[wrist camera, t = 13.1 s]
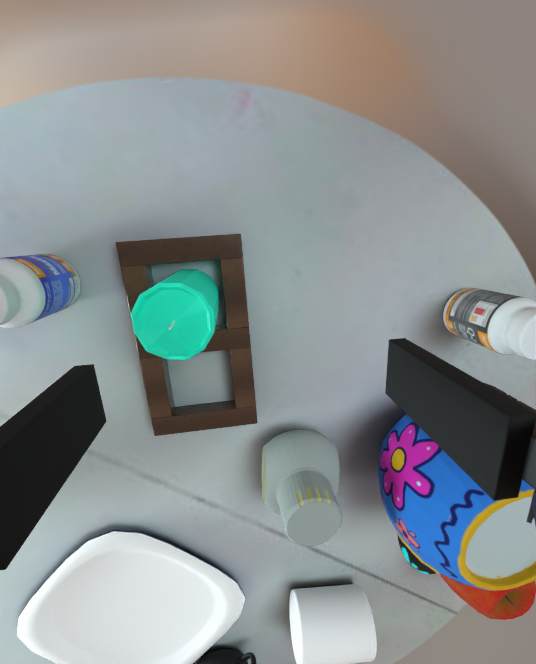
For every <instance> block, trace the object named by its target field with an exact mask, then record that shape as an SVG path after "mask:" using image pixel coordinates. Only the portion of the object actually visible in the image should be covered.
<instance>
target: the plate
mask: <svg viewBox="0 0 536 664" xmlns="http://www.w3.org/2000/svg"><path fill="white" fill-rule="evenodd" d="M244 601H245V595H244V593H243V592H242V590H241V588H240V586H239V585H238V583H237V581H235V580H234V579H232V578H231V577H230V576H228V575H227V574H225V573H224V572H222V571H221V570H220V569H218V568H217V567H215V566H213V565H211V564H209V563H207V562H205V561H204V560H202V559H200V558H198V557H196V556H194V555H192V554H190V553H188V552H186V551H184V550H182V549H180V548H178V547H176V546H175V545H173V544H171V543H168V542H166V541H163V540H161V539H158V538H155V537H153V536H150V535H148V534H145V533H142V532H133V531H120V530H112V531H110V532H107V533H105V534H102V535H100V536H97V537H94V538H92V539H89V540H88V541H87V542H85V543H84V544H83V545H82V546H81V547H79V548H78V549H77V550H76V551H75V552H74V553H72V554H71V555H70V556H69V557H68V558H67V559H66V560H65V561H64V562H63V563H62V564H61V565H60V566H59V567H58V568H57V569H56V571H55V572H54V573H53V574H52V575H51V576H50V577H49V578H48V579H47V580H46V582H45V583H44V584H43V585H42V586H41V587H40V589H39V590H38V591H37V592H36V593H35V594H34V595H33V597H32V598H31V599H30V601H29V602H28V604H27V606H26V607H25V609H24V610H23V612H22V613H21V615H20V616H19V618H18V633H17V637H18V638H19V639H20V640H21V641H22V642H23V643H24V644H25V645H26V646H27V647H28V648H29V649H30V650H31V651H32V652H34V653H36V654H38V655H40V656H42V657H44V658H46V659H48V660H50V661H53V662H55V663H57V664H193V663H194V662H195V661H196V660H197V659H198V658H199V657H200V656H202V655H203V654H204V653H205V652H206V651H207V650H208V649H209V648H210V647H211V646H212V645H213V644H214V643H215V642H216V641H217V640H218V639H219V638H221V637H222V636H223V635H224V634H225V633H226V632H227V630H228V629H229V628H230V627H231V626H232V624H233V623H234V622H235V621H236V620H237V618H238V617H239V616H240V615H241V611H242V608H243V605H244Z"/></svg>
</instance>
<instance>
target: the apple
mask: <svg viewBox="0 0 536 664" xmlns="http://www.w3.org/2000/svg"><path fill="white" fill-rule="evenodd" d="M440 575H441V577H442V578H443V579H444V580H445V582H446V583H447V584H448V585H449V586H450V588H451V589H452V590H453V591H454V592H455V593H456V594H457V595H458V596H459V597H460V598H462V599H463V600H464V601H465V602H467V603H468V604H469V605H470V606H472V607H473V608H474V609H476V610H477V611H478V612H479V613H481V614H483V615H485V616H486V617H489V618H490V619H502V620H505V619H513V618H516V617H519V616H522V615H523V614H524V613H526V612H527V611H528V610H529V609H530V607H531V606H532V604H533V602H534V597H535V593H536V584H535V581H533V582H530V583H527V584H525V585H522V586H520V587H517V588H513V589H508V590H496V591H490V590H484V589H480V588H476V587H473V586H469V585H465V584H462V583H459V582H457V581H455V580H453V579H451V578H449V577H447V576H444V575H442V574H440Z"/></svg>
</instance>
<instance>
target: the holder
mask: <svg viewBox="0 0 536 664" xmlns="http://www.w3.org/2000/svg"><path fill="white" fill-rule="evenodd" d="M116 245H117V250H118V255H119V260H120V265H121V270H122V275H123V280H124V285H125V290H126V295H127V300H128V305H129V310H130V315H131V311H132V309H133V307H134V305H135V303H136V301H137V299H138V297H139V295H140V294H141V293H143V292H145V291H146V290H148V289H149V288H151V287H153V286H154V284H153V278H152V272H151V267H150V264H164V263H177V262H190V261H204V260H217V259H220V264H221V273H222V282H223V292H224V301H225V310H226V319H227V324H226V325H216V326H215V331H214V334H213V335H212V337H211V339H210V341H209V343H208V344H207V346H206V348H205V349H204V350H203V351H201V352H208V351H217V350H227V349H230V356H231V366H232V375H233V384H234V393H235V400H233V401H225V402H216V403H208V404H199V405H190V406H182V407H175V406H174V400H173V394H172V389H171V383H170V377H169V371H168V365H167V360H166V359H165V358H162V357H159V356H157V355H154V354H152V353H149V352H147V351H146V350H145V349H144V347H143V345H142V344H141V342H140V341H139V339H138V338H137V336H136V334H135V333H134V335H135V340H136V345H137V350H138V355H139V358H140V359H139V360H140V365H141V370H142V375H143V380H144V385H145V390H146V395H147V400H148V405H149V410H150V415H151V418H152V419H151V420H152V425H153V430H154V435H155V436H158V435H166V434H174V433H183V432H191V431H199V430H207V429H215V428H223V427H231V426H239V425H247V424H255V423H257V414H256V402H255V391H254V379H253V368H252V356H251V345H250V334H249V322H248V311H247V299H246V288H245V276H244V265H243V258H242V257H243V254H242V242H241V234H230V235H215V236H201V237H186V238H171V239H156V240H142V241H127V242H116ZM131 320H132V317H131ZM132 325H133V322H132ZM133 330H134V328H133Z"/></svg>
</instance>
